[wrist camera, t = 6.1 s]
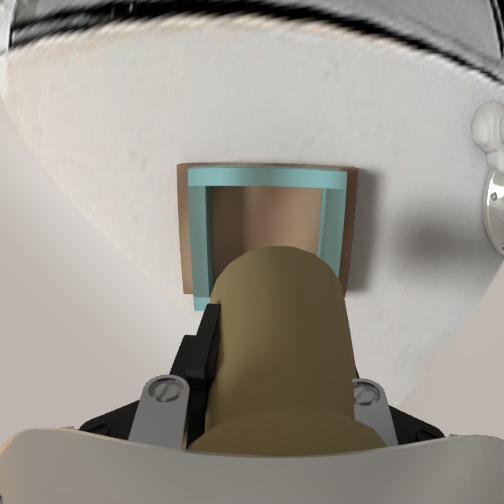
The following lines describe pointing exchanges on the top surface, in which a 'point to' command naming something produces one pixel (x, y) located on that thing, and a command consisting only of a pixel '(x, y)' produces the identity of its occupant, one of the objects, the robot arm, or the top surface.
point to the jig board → (261, 216)
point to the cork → (282, 361)
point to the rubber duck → (490, 133)
